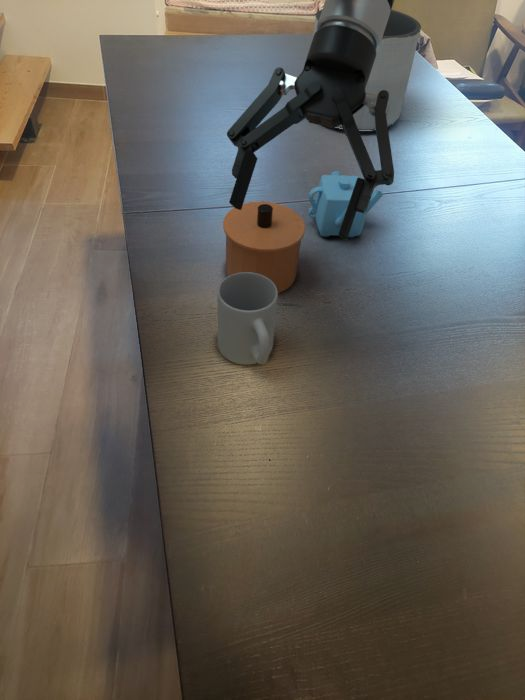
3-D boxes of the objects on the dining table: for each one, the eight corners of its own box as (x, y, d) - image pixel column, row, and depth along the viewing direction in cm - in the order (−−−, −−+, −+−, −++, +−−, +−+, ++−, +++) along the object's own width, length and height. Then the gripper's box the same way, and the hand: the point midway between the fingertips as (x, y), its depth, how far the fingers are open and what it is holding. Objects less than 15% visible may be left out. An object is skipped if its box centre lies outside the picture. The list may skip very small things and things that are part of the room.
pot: (225, 294, 86) (225, 249, 79) (226, 249, 94) (226, 204, 87) (298, 296, 87) (305, 250, 80) (292, 251, 95) (298, 206, 88)
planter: (305, 90, 145) (315, -1, 129) (394, 99, 145) (415, 8, 128) (302, 130, 128) (313, 31, 112) (402, 140, 128) (429, 42, 111)
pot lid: (222, 254, 79) (222, 231, 76) (223, 206, 88) (223, 184, 85) (308, 256, 80) (311, 234, 77) (300, 208, 89) (303, 186, 86)
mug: (210, 331, 80) (209, 277, 72) (261, 319, 82) (265, 266, 74) (235, 389, 73) (237, 336, 64) (290, 374, 75) (298, 322, 67)
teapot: (300, 201, 107) (306, 155, 99) (366, 203, 107) (377, 157, 100) (309, 254, 95) (316, 207, 87) (383, 256, 95) (397, 209, 88)
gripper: (451, 81, 59) (390, 256, 61) (254, 40, 65) (203, 202, 66) (460, 44, 52) (391, 244, 54) (237, 1, 57) (181, 184, 59)
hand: (287, 221), depth 60 cm, fingers open, 13 cm apart
